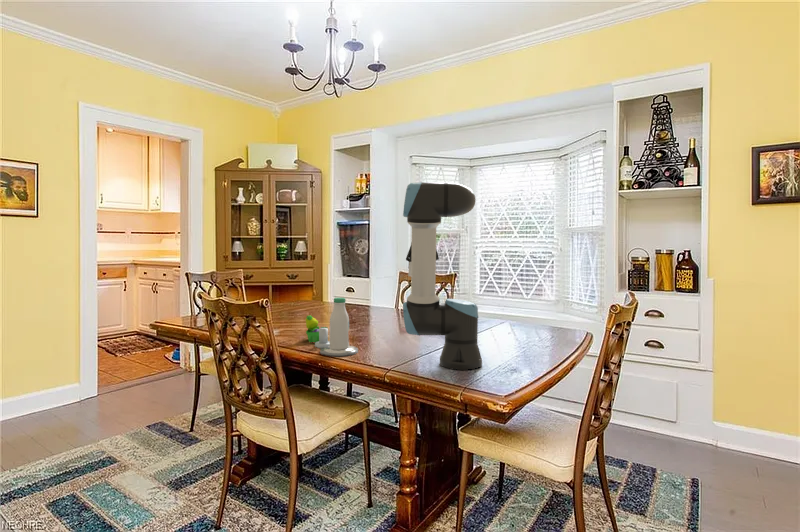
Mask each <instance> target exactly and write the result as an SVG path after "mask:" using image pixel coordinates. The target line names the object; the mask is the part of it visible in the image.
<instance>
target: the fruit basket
mask: <svg viewBox="0 0 800 532" xmlns="http://www.w3.org/2000/svg"><path fill="white" fill-rule="evenodd" d="M318 324H319V320H318V319H317V318H315V317H313V316H312V315H307V316H306V318H305V326H306V328H307V330H306V331H305V333H306V336H307V339H308V342H318V341H319V328H328V327H327V326H319V325H318Z"/></svg>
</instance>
